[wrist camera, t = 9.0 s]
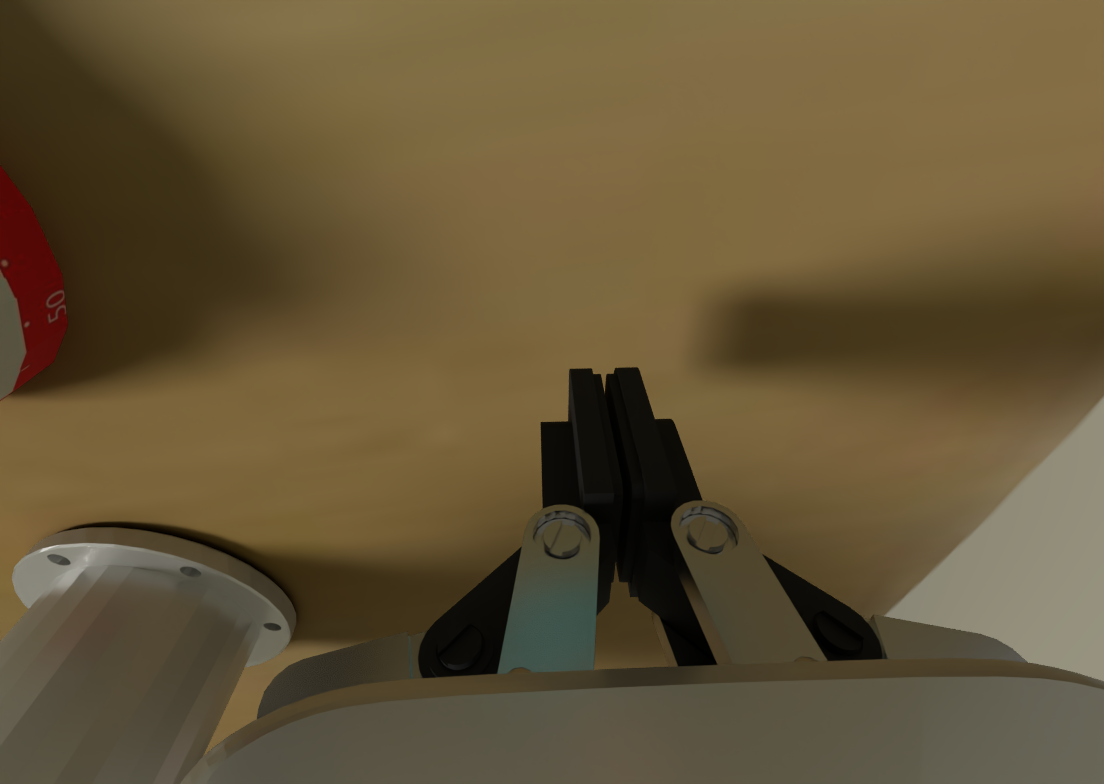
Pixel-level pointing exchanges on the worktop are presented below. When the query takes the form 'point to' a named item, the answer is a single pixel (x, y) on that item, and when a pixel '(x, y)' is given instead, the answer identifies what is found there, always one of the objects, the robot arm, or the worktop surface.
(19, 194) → the kitchen timer
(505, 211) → the worktop surface
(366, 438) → the worktop surface
